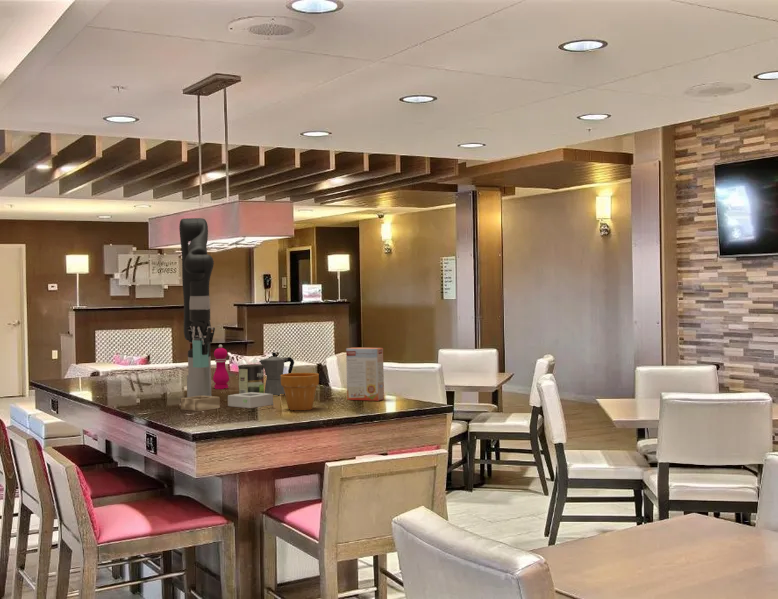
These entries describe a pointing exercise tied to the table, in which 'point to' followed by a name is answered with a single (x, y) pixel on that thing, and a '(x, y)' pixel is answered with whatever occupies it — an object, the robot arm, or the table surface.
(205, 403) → the holster
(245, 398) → the port
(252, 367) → the coffee can
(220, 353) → the pepper mill
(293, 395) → the flower pot
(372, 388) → the cracker box
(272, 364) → the coffeepot
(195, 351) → the plug
